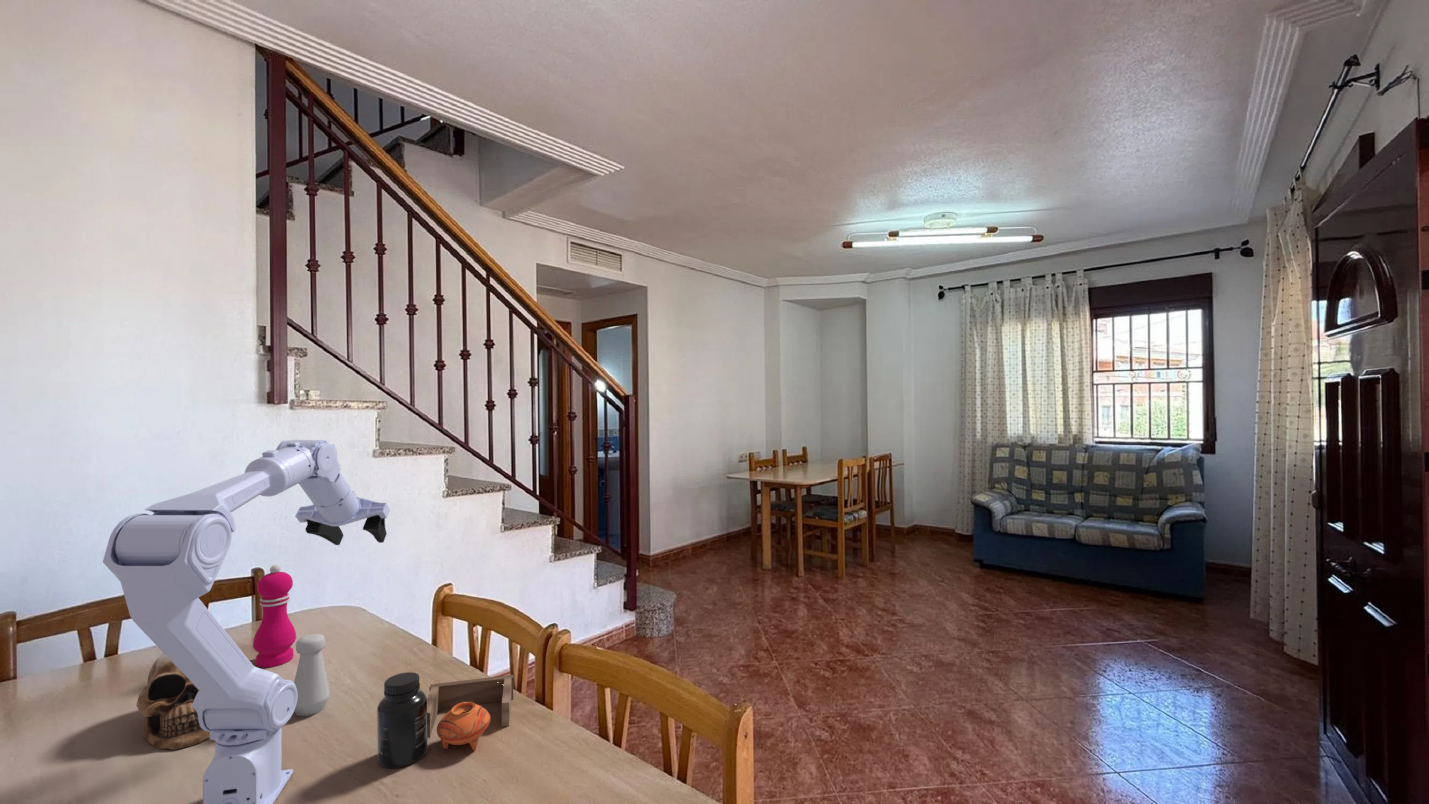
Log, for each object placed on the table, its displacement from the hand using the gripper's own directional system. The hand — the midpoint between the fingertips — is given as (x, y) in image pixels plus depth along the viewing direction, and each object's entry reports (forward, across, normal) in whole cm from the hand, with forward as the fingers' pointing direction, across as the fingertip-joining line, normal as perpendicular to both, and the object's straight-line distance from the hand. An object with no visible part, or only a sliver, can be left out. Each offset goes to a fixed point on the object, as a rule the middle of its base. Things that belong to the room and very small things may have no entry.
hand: (361, 539), depth 109 cm
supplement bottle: (+8, -14, +35) cm, 38 cm away
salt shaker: (+18, +8, +23) cm, 30 cm away
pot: (+11, -23, +33) cm, 41 cm away
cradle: (+16, -21, +27) cm, 38 cm away
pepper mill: (+31, +26, +8) cm, 41 cm away
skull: (+16, +25, +24) cm, 38 cm away
